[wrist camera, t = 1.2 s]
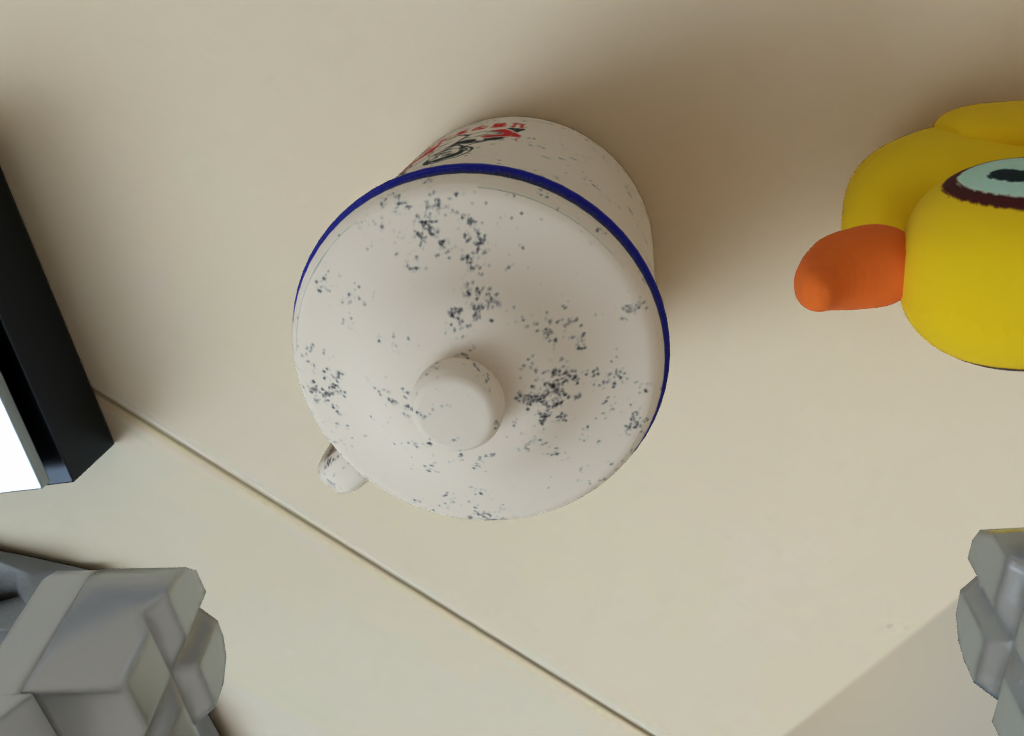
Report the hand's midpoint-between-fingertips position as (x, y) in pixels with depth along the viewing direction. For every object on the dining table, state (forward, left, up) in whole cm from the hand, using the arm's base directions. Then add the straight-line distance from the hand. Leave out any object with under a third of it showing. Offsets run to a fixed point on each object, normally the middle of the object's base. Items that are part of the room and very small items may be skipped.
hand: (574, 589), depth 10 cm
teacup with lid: (+3, -5, -20) cm, 21 cm away
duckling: (+2, +10, -20) cm, 23 cm away
